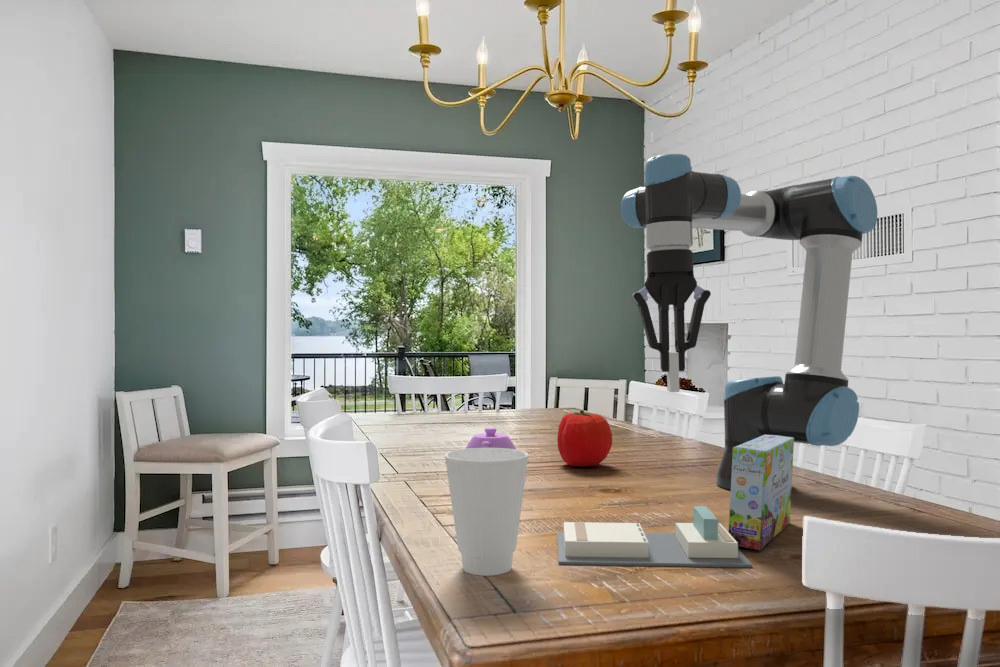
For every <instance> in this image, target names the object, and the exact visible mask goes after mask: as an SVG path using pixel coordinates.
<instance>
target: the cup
mask: <svg viewBox="0 0 1000 667" xmlns="http://www.w3.org/2000/svg"><path fill="white" fill-rule="evenodd" d="M529 456H530V455H529V453H528V452H526V451H524V450H520V449H517V448H516V449H507V448H469V449H466V448H462V449H454V450H451V451H448V452H446V453H445V455H444V460H445V466H446V474H447V480H448V485H449V486H448V487H449V493H450V501H451V508H452V515H453V521H454V522H453V523H454V528H455V535H456V543H457V550H458V551H459V553H460V555H461V556H460V557H461V564H462V570H463V572H465V573H467V574H470V575H475V576H483V577H484V576H485V577H486V576H498V575H503V574H506V573H508V572H510V571H511V570H512V568H513V557H514V553H515V552H516V549H517V544H518V535H519V527H520V520H521V513H522V508H523V507H522V506H523V498H524V491H525V483H526V478H527V477H526V474H527V467H528V461H529V458H530V457H529Z"/></svg>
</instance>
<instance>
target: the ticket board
mask: <svg viewBox="0 0 1000 667" xmlns="http://www.w3.org/2000/svg"><path fill="white" fill-rule="evenodd" d="M642 527H643V526H641V523H639V522H593V521H592V522H590V521H589V522H586V521H585V522H583V521H582V522H581V521H580V522H579V521H576V522H575V521H574V522H573V521H572V522H571V521H570V522H569V521H568V522H567V521H563V531H556V532H557V533H556V534H557V535H556V536H557V560H558V563H557V564H558V565H571V566H572V565H573V566H574V565H575V566H576V565H579V566H581V565H582V566H634V567H635V566H636V567H637V566H640V567H641V566H642V567H643V566H645V567H647V566H649V567H695V568H696V567H700V568H703V567H704V568H706V567H707V568H708V567H709V568H716V567H717V568H752V567H753V564H752V563H751V562H750V561H749V559H748V558H747V557H746V556H745V555H744V553H743V552H742V551H741V550H740V549H739V548H738V558H688V556H687V554H686V553H685V551H684V550H683V548H682V546H681V545H680V543H679V541H678V540H677V538H676V532H644V530H643V528H642Z"/></svg>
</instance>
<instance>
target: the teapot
mask: <svg viewBox="0 0 1000 667" xmlns="http://www.w3.org/2000/svg"><path fill="white" fill-rule="evenodd" d="M469 448H507V449H516V450H517V448H516V446H515V444H514V443H513V441H512V440H511V437H510V436H508V435H507V434H504V433H497V428H495V427H485V429H484V433H478V434H475V435H473V436H472V437H471V439H470V440H469V442H468V444H467V445H466V447H465V449H469Z"/></svg>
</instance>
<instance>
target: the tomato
mask: <svg viewBox="0 0 1000 667" xmlns="http://www.w3.org/2000/svg"><path fill="white" fill-rule="evenodd" d="M566 411H568V412H570V413H569V414H565V415H563V417H562V418H561V420H560V422H559V425H558V430H557V438H556V439H557V449H558V452H559V456H560V457H561V459H562V461H563V462H564V463H565V464H567V465H568V466H572V467H577V468H578V467H584V468H585V467H586V468H587V467H593V466H597V465H599V464H601V463H602V462H603V461H604V460H605V459H606V458H607V457H608V455H609V453H610V451H611V450H612V446H613V433H612V430H611V427H610V425H609V422H608V420H607V419H606V418H605V417H604V416H602V415H601V414H598V413H591V412H585V410H584V409H580V410H579V411H578V412H577V411H571V410H567V409H566Z"/></svg>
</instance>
